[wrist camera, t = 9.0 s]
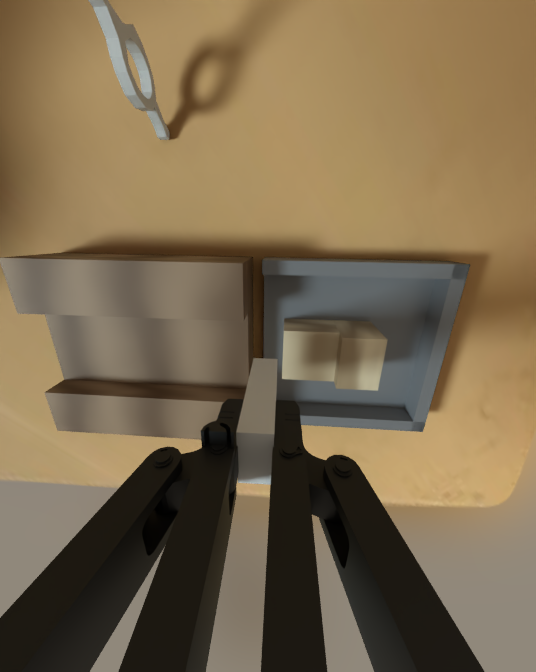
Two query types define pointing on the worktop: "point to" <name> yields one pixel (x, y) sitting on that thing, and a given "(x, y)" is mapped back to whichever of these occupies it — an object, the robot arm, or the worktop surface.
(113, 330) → the slot board
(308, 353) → the cream square block
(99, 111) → the worktop surface
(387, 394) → the tray
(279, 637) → the robot arm
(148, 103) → the scissors
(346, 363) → the chip
